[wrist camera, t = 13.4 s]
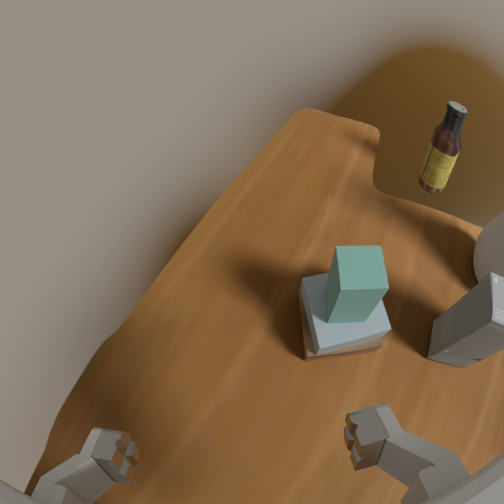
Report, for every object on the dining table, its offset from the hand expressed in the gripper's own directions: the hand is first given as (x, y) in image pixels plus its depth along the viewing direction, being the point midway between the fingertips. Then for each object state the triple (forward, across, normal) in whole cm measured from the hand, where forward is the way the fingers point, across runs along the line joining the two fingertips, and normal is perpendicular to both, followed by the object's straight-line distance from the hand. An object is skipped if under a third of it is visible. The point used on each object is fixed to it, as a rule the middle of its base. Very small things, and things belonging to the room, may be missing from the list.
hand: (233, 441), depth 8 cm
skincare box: (+22, -30, +18) cm, 41 cm away
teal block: (+22, -11, +7) cm, 26 cm away
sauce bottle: (+45, -41, -4) cm, 61 cm away
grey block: (+25, -12, +10) cm, 30 cm away
